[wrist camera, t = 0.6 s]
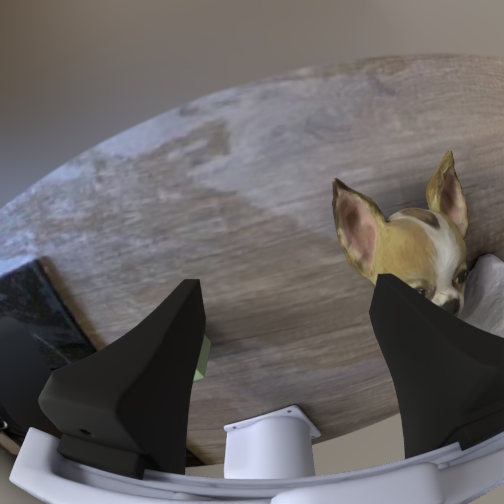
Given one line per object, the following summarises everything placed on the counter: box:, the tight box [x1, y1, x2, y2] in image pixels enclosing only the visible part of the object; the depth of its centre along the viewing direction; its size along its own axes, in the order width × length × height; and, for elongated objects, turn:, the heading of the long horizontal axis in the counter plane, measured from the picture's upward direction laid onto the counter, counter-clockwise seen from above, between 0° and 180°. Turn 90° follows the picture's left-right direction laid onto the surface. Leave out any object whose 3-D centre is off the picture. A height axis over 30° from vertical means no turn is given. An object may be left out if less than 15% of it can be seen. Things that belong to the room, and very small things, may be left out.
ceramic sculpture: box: [332, 151, 469, 318], centre depth 18 cm, size 11×9×15 cm
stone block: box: [458, 253, 504, 338], centre depth 23 cm, size 12×5×10 cm
